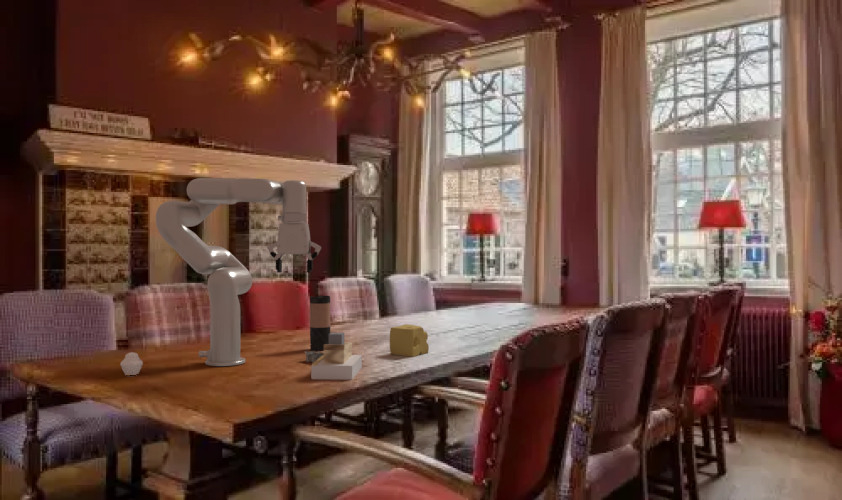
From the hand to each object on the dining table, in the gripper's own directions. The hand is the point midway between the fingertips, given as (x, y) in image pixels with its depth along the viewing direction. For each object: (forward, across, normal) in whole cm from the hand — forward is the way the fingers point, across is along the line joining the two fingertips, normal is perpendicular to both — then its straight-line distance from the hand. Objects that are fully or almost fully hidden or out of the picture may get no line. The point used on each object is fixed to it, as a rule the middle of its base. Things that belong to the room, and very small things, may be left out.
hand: (294, 272), depth 208 cm
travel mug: (+31, +1, +35) cm, 46 cm away
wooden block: (+26, +16, -9) cm, 32 cm away
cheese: (+31, +35, +27) cm, 54 cm away
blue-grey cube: (+22, +16, -10) cm, 29 cm away
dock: (+30, +16, -10) cm, 36 cm away
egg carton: (+31, +7, +10) cm, 33 cm away
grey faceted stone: (+31, -45, -17) cm, 57 cm away
